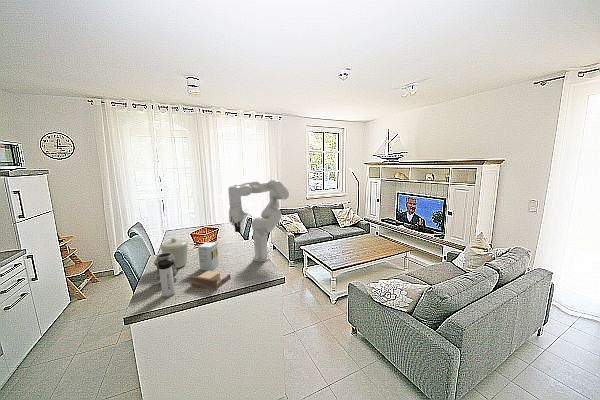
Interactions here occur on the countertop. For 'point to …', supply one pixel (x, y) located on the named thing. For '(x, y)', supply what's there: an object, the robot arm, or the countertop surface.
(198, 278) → the stand
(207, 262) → the supplement box
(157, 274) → the apothecary jar
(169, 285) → the travel mug
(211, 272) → the kraft carton
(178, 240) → the canister
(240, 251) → the countertop surface
